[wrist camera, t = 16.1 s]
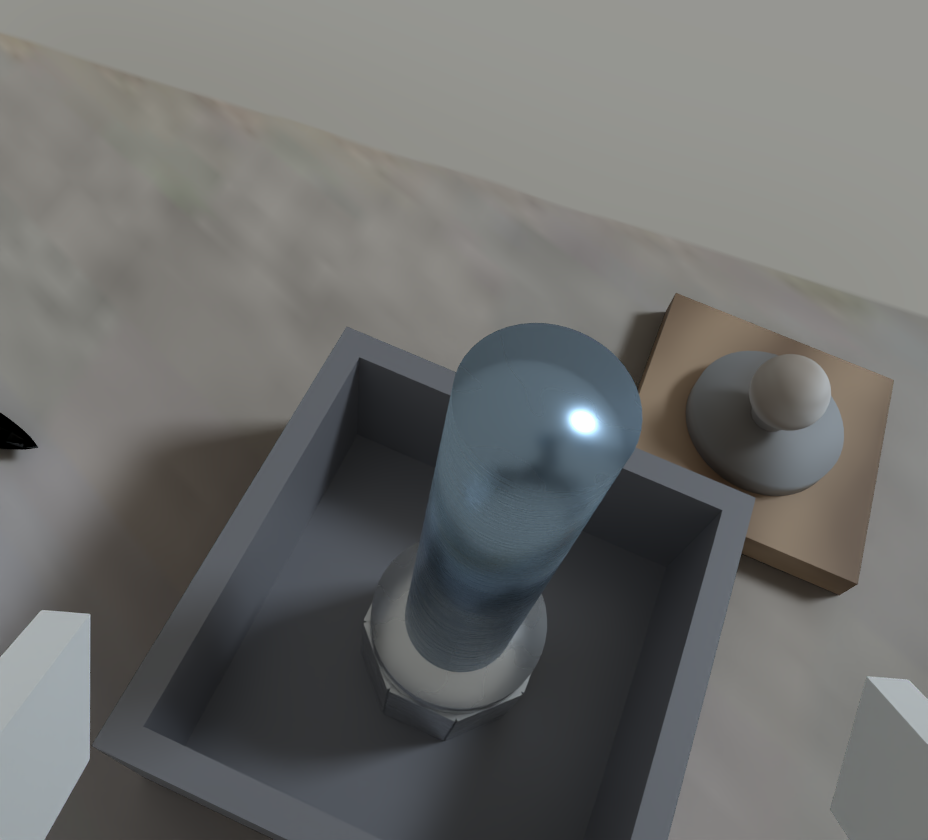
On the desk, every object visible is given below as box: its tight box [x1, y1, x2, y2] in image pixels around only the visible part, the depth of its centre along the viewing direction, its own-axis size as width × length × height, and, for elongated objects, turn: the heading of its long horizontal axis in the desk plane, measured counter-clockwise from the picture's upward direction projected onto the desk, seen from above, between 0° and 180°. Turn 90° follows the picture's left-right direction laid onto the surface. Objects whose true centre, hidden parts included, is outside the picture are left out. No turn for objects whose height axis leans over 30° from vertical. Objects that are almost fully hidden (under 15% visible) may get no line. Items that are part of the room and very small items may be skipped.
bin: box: [92, 327, 756, 840], centre depth 30 cm, size 16×16×7 cm
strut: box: [361, 323, 642, 741], centre depth 24 cm, size 6×6×19 cm
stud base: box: [636, 293, 894, 595], centre depth 37 cm, size 11×11×6 cm
